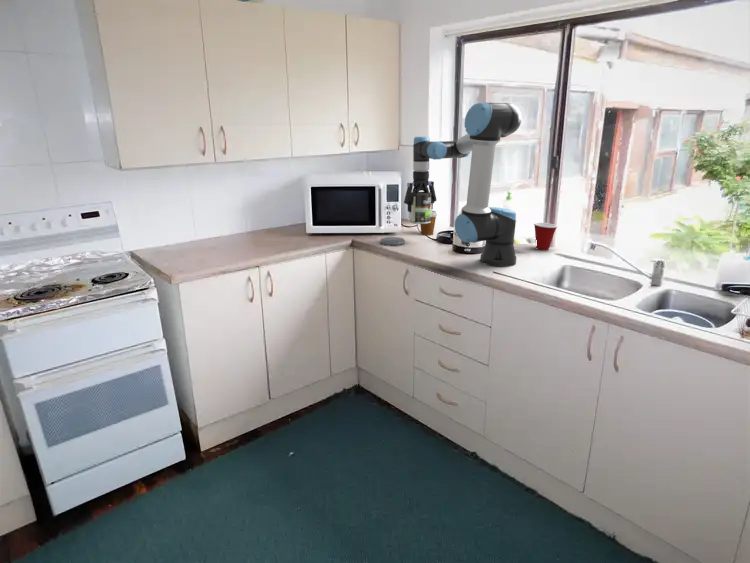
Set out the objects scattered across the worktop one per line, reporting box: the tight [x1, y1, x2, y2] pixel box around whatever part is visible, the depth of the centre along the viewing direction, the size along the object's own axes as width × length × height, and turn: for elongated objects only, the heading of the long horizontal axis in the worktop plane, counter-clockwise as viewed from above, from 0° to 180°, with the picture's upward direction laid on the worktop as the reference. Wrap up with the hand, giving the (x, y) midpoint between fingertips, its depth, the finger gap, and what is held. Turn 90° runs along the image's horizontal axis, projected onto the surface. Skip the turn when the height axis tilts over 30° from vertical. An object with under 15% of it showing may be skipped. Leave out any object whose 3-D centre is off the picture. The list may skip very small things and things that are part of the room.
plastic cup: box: [533, 222, 558, 251], centre depth 236 cm, size 11×11×12 cm
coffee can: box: [409, 191, 431, 225], centre depth 242 cm, size 10×10×14 cm
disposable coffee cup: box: [419, 210, 438, 236], centre depth 264 cm, size 10×10×12 cm
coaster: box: [380, 236, 406, 247], centre depth 248 cm, size 12×12×2 cm
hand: (420, 217), depth 243 cm, fingers closed on coffee can, 10 cm apart
